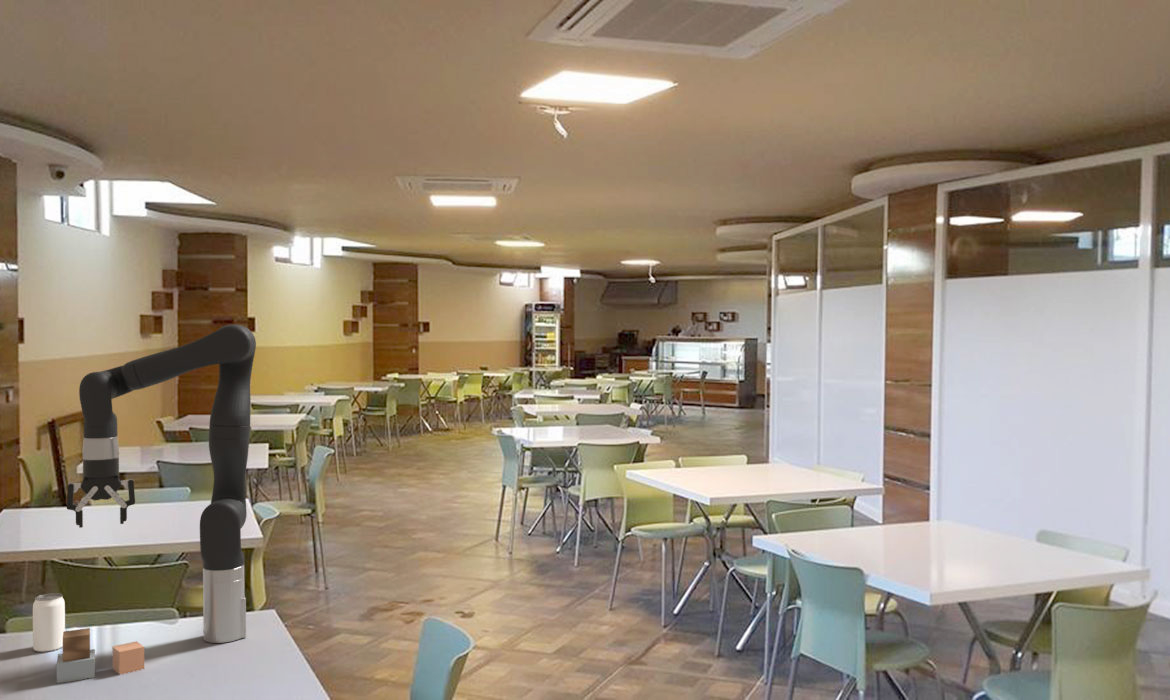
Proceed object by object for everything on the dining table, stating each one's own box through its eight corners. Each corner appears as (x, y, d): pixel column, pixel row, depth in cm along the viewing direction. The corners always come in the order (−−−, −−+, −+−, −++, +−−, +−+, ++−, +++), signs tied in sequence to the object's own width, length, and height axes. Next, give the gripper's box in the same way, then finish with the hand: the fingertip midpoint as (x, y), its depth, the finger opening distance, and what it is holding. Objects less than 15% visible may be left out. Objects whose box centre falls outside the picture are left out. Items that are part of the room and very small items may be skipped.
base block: (94, 667, 204) (94, 649, 204) (94, 677, 197) (94, 658, 197) (58, 672, 200) (58, 654, 200) (56, 683, 194) (56, 664, 194)
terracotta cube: (137, 663, 206) (136, 641, 206) (144, 669, 202) (144, 646, 202) (112, 669, 203) (112, 646, 203) (119, 675, 199) (119, 652, 199)
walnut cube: (89, 651, 202) (89, 628, 202) (89, 657, 198) (89, 634, 198) (63, 654, 200) (63, 631, 200) (62, 661, 196) (62, 638, 195)
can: (50, 653, 213) (50, 601, 213) (26, 651, 214) (25, 599, 214) (71, 644, 219) (71, 593, 219) (47, 642, 220) (47, 592, 220)
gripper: (134, 452, 225) (134, 519, 225) (66, 456, 218) (67, 525, 219) (135, 456, 218) (135, 525, 219) (65, 460, 212) (66, 531, 212)
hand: (101, 525), depth 219 cm, fingers open, 8 cm apart
